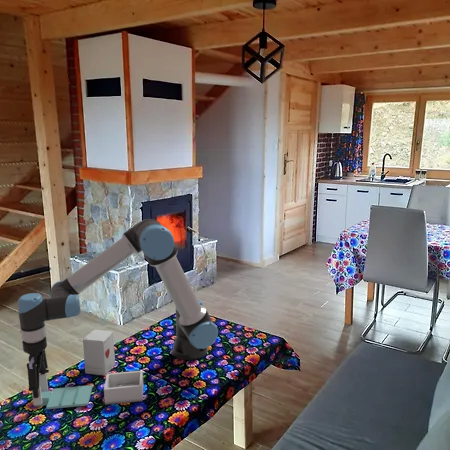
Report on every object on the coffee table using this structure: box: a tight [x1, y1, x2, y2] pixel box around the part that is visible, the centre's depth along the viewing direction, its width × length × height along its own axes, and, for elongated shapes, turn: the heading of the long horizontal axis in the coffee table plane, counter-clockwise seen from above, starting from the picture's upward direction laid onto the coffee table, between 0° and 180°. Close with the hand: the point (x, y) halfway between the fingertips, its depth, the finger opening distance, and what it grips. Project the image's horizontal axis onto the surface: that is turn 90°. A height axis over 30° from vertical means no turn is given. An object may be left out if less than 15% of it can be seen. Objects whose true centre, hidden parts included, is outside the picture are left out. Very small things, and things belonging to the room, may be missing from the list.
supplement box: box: [82, 329, 116, 377], centre depth 170 cm, size 9×9×15 cm
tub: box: [103, 370, 144, 406], centre depth 154 cm, size 13×10×6 cm
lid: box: [33, 384, 94, 410], centre depth 151 cm, size 19×11×3 cm, turn 99°
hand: (41, 397), depth 150 cm, fingers open, 7 cm apart
